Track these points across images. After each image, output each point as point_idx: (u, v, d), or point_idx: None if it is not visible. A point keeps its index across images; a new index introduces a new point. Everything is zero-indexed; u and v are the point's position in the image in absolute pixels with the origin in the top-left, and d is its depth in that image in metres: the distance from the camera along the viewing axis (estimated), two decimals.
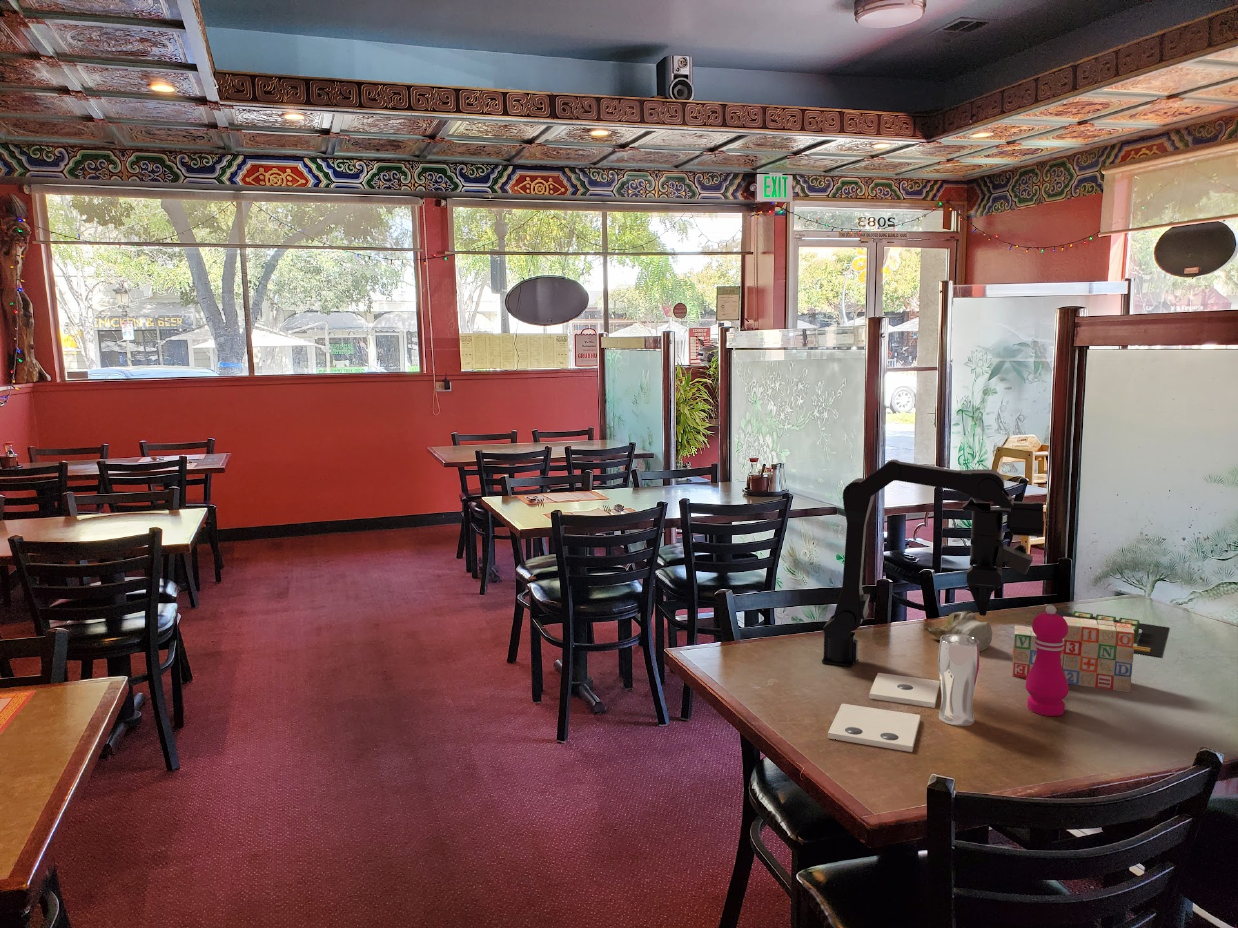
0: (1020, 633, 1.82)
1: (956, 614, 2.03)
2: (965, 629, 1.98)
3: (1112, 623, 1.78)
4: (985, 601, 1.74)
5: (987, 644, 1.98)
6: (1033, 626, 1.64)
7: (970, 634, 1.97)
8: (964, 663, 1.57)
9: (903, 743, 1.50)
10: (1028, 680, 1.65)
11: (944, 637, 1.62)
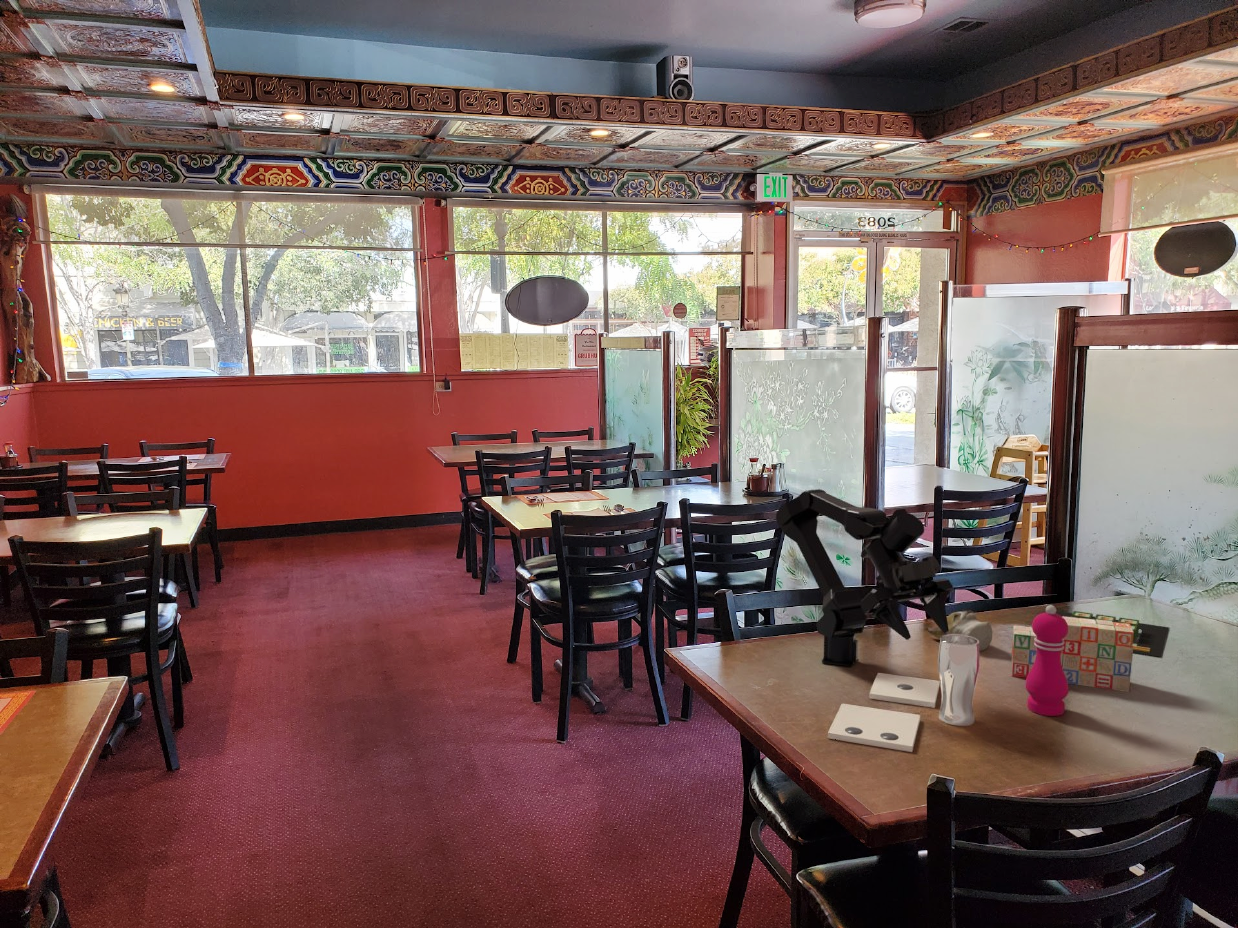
0: (1019, 633, 1.82)
1: (956, 614, 2.03)
2: (966, 629, 1.98)
3: (1111, 623, 1.78)
4: (897, 623, 1.67)
5: (987, 644, 1.98)
6: (1033, 626, 1.64)
7: (971, 634, 1.97)
8: (964, 663, 1.57)
9: (903, 743, 1.50)
10: (1028, 680, 1.65)
11: (944, 637, 1.62)
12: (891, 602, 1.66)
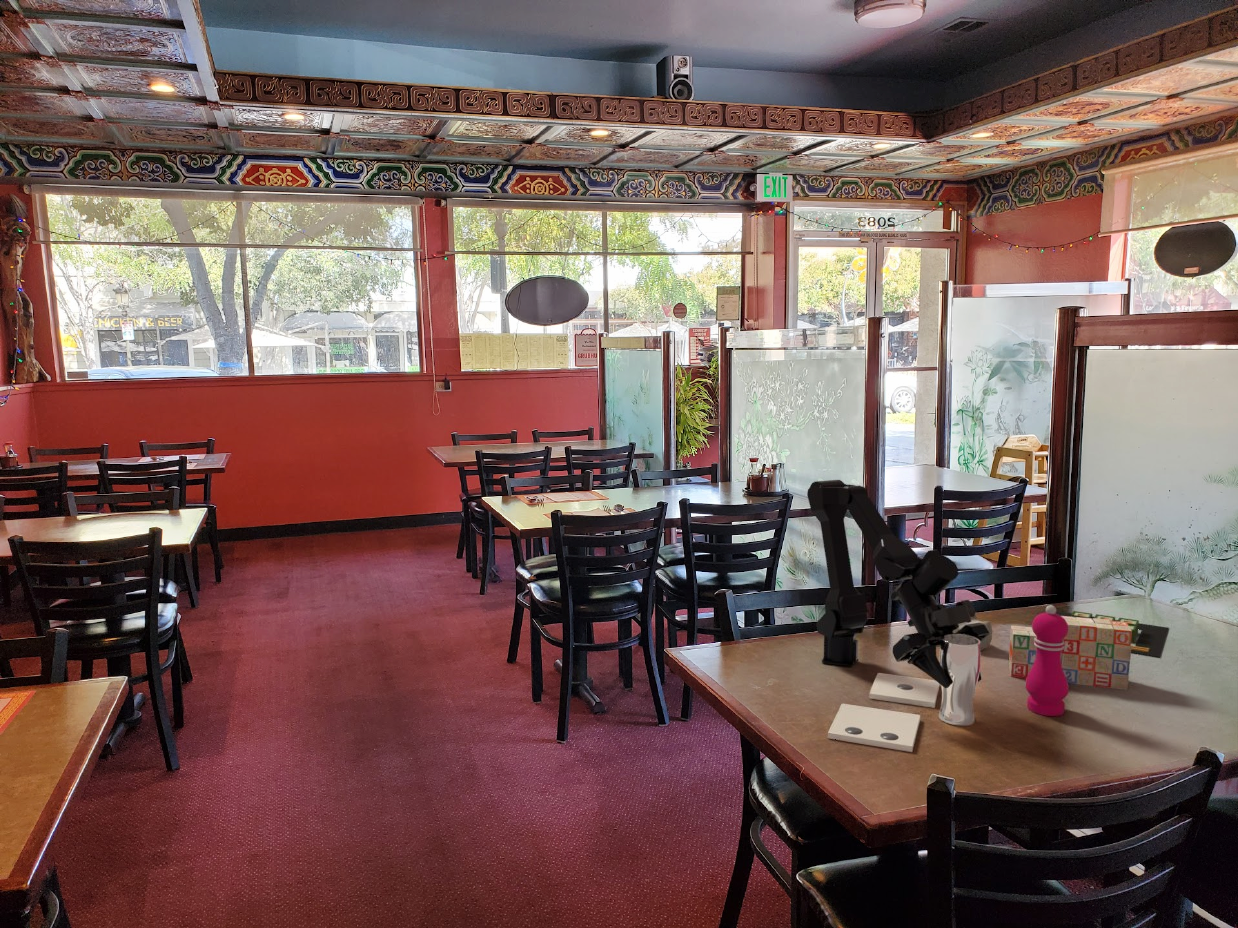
0: (1018, 633, 1.81)
1: None
2: None
3: (1108, 621, 1.79)
4: (935, 670, 1.59)
5: (988, 643, 1.99)
6: (1033, 626, 1.64)
7: None
8: (965, 663, 1.57)
9: (903, 743, 1.50)
10: (1028, 680, 1.65)
11: (945, 637, 1.62)
12: (929, 648, 1.59)
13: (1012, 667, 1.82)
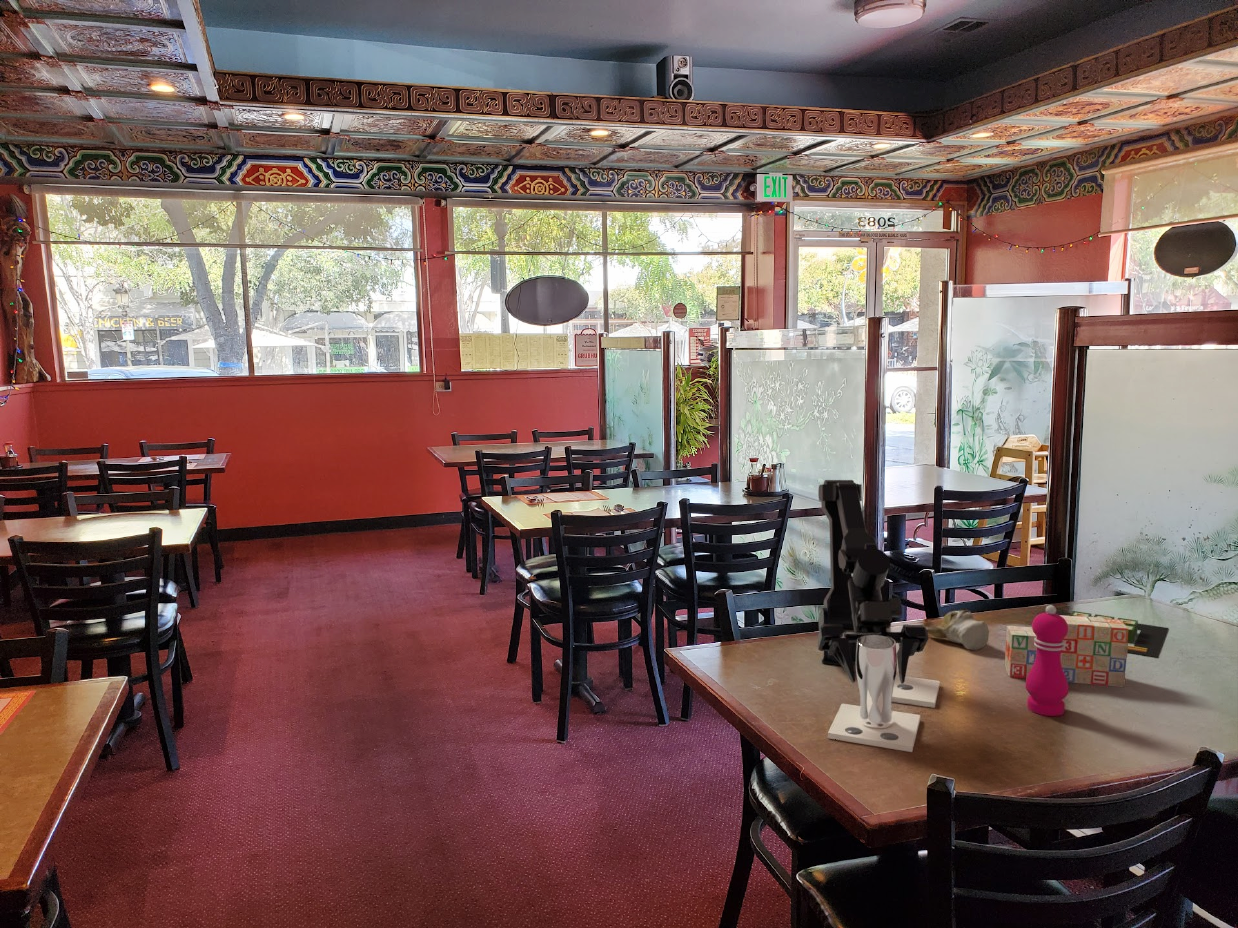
0: (1017, 634, 1.81)
1: (953, 613, 2.03)
2: (961, 628, 1.99)
3: (1103, 619, 1.80)
4: (845, 664, 1.57)
5: (983, 643, 1.99)
6: (1033, 626, 1.64)
7: (966, 633, 1.97)
8: (870, 666, 1.53)
9: (903, 743, 1.50)
10: (1028, 680, 1.65)
11: (868, 637, 1.59)
12: (839, 640, 1.58)
13: (1011, 668, 1.82)
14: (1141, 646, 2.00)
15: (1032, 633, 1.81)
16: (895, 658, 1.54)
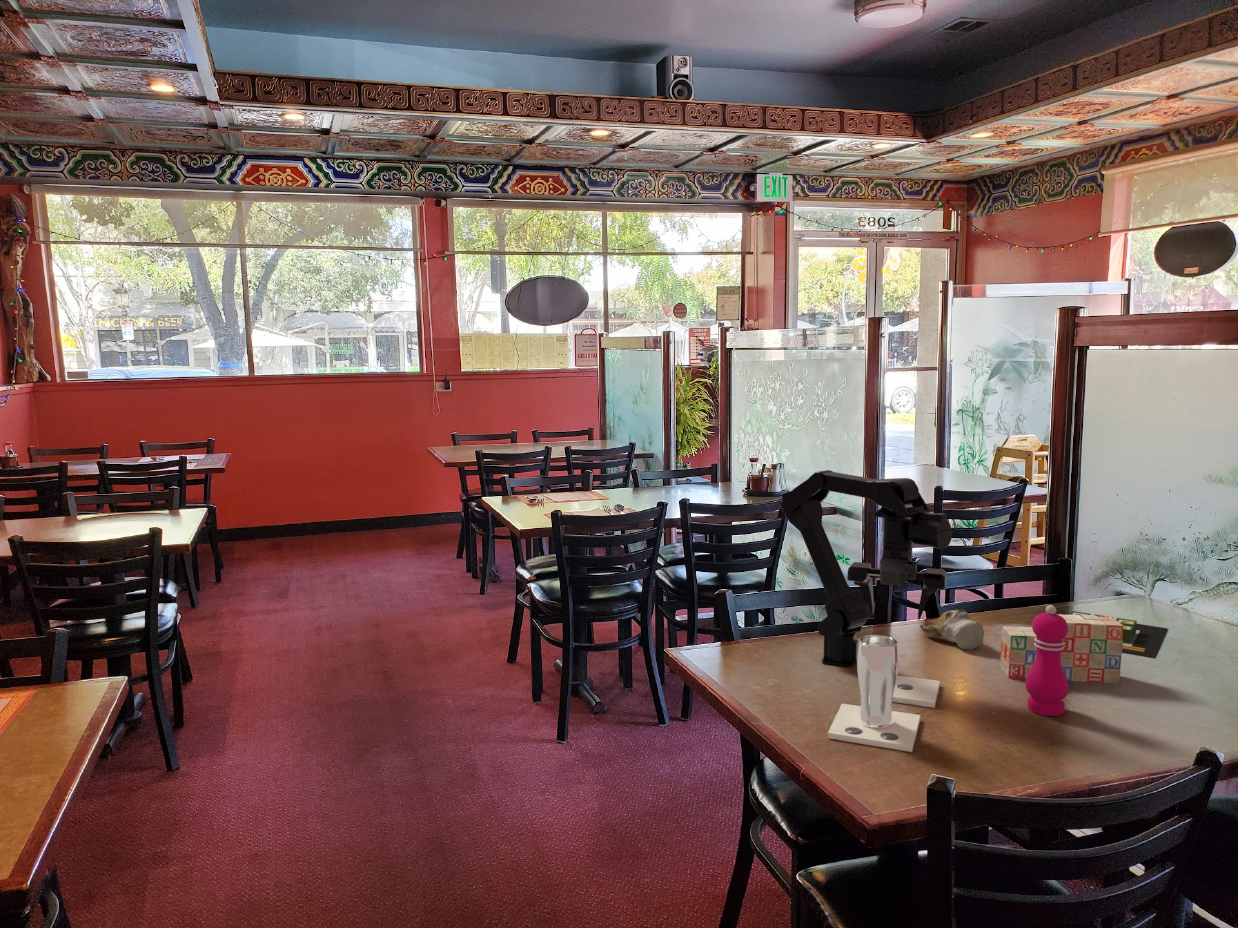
0: (1015, 634, 1.81)
1: (949, 612, 2.04)
2: (955, 628, 1.99)
3: (1096, 617, 1.82)
4: None
5: (978, 643, 1.99)
6: (1033, 626, 1.64)
7: (960, 632, 1.98)
8: (872, 664, 1.54)
9: (903, 743, 1.50)
10: (1028, 680, 1.65)
11: (870, 637, 1.60)
12: (860, 585, 1.80)
13: (1009, 668, 1.82)
14: (1139, 646, 2.00)
15: (1029, 633, 1.81)
16: (896, 657, 1.55)
